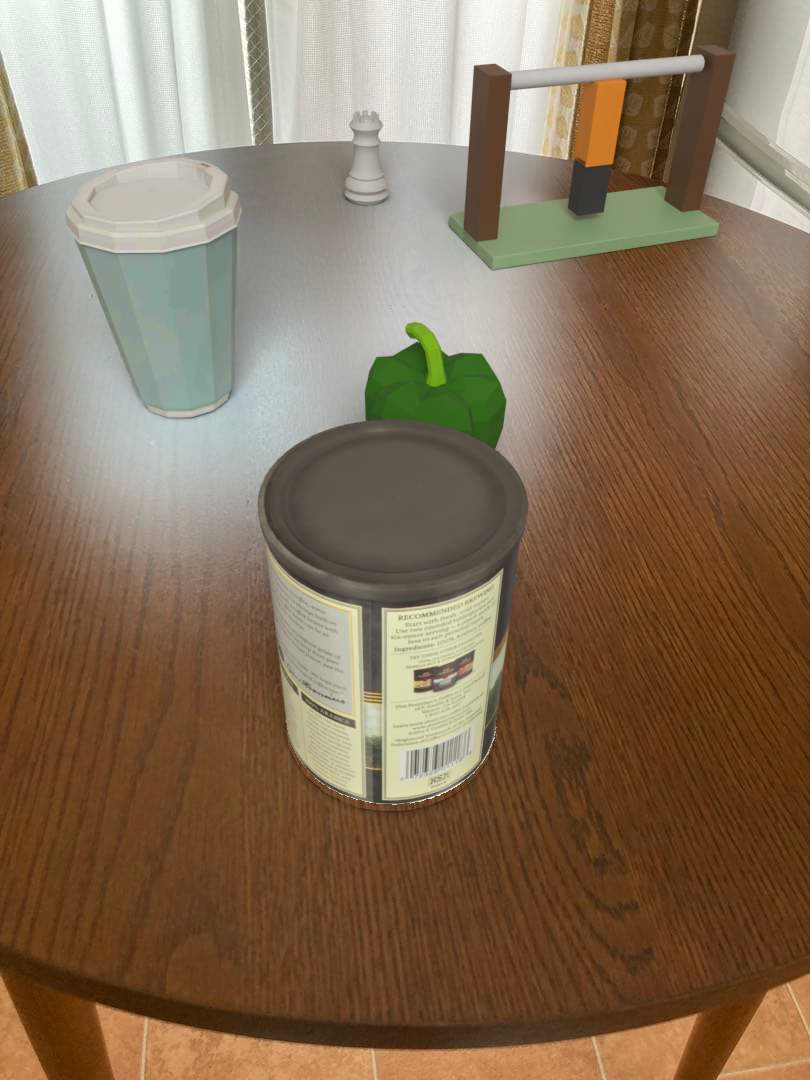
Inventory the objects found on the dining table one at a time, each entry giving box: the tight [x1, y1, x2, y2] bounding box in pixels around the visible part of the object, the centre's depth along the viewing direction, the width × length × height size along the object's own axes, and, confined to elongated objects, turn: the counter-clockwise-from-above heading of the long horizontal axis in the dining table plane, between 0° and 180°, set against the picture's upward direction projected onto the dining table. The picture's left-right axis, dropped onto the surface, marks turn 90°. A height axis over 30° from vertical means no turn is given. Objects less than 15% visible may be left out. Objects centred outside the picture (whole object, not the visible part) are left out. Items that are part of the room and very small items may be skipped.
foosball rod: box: [509, 54, 705, 216], centre depth 82 cm, size 19×2×13 cm, turn 111°
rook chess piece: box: [344, 109, 390, 206], centre depth 90 cm, size 4×4×8 cm
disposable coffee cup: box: [64, 156, 243, 419], centre depth 61 cm, size 11×11×15 cm
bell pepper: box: [364, 321, 507, 450], centre depth 55 cm, size 8×8×10 cm
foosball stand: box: [448, 44, 737, 271], centre depth 83 cm, size 24×10×15 cm, turn 111°
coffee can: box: [257, 419, 529, 805], centre depth 40 cm, size 10×10×14 cm
